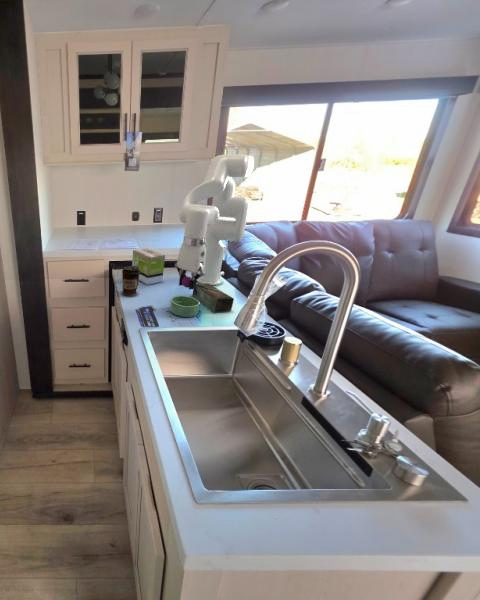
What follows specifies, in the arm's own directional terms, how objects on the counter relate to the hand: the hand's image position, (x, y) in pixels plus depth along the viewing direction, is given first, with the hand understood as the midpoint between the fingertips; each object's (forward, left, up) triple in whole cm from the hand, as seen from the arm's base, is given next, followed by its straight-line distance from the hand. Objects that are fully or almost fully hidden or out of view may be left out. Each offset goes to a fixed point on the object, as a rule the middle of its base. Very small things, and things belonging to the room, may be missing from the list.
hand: (187, 286), depth 126 cm
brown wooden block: (-17, 0, -12) cm, 21 cm away
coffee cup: (+6, -27, -12) cm, 30 cm away
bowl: (0, 0, -12) cm, 12 cm away
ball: (0, 0, +2) cm, 2 cm away
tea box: (-15, -38, -12) cm, 43 cm away
